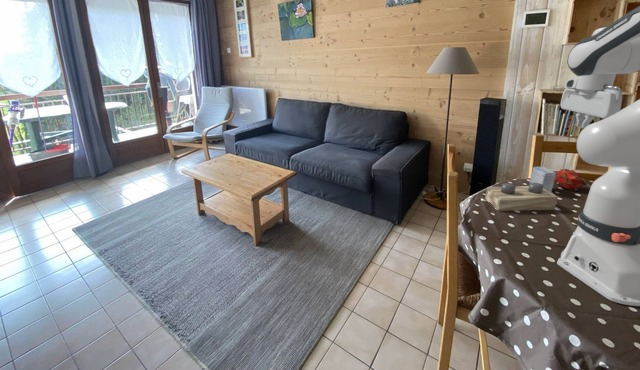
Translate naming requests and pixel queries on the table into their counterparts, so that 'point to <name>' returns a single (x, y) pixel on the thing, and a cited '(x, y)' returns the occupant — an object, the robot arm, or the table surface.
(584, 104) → the robot arm
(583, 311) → the table surface
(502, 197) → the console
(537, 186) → the knob right
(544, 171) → the medicine box
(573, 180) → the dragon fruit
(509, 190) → the knob left
